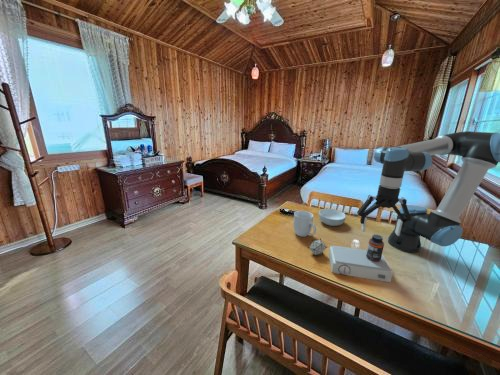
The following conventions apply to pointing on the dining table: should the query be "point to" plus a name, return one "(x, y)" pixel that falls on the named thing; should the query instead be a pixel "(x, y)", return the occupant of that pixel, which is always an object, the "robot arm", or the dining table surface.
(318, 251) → the game die
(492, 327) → the dining table surface
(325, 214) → the cereal bowl
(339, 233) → the dining table surface
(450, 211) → the robot arm
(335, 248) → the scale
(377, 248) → the supplement bottle
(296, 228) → the mug
